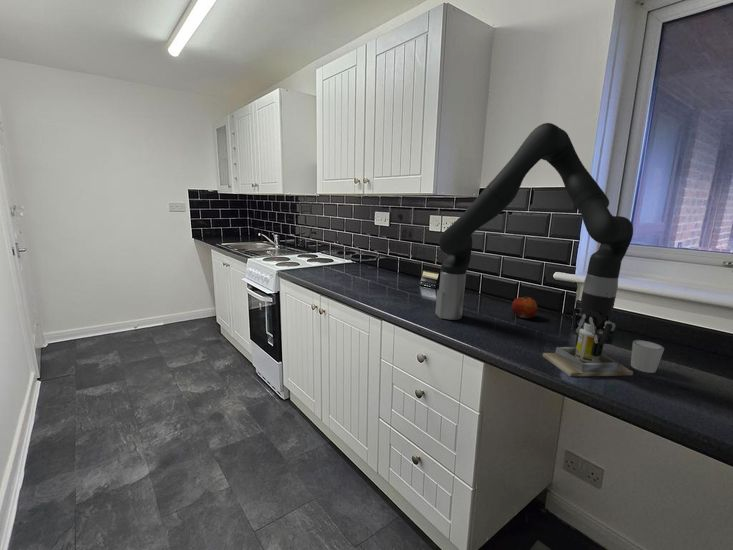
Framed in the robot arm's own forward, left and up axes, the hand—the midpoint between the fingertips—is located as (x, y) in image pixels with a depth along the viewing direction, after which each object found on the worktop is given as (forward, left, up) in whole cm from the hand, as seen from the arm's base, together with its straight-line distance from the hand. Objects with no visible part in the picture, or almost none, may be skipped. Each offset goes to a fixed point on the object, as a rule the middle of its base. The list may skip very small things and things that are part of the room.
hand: (587, 350), depth 99 cm
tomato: (+5, +41, -5) cm, 41 cm away
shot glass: (+16, -2, -5) cm, 17 cm away
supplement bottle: (0, 0, -3) cm, 3 cm away
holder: (0, 0, -4) cm, 4 cm away
